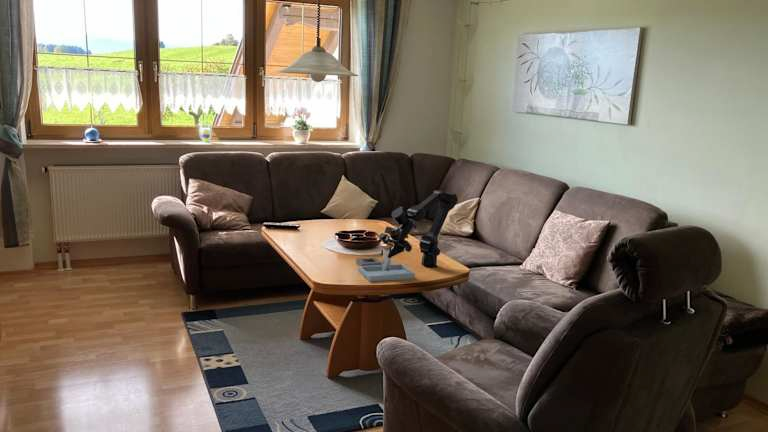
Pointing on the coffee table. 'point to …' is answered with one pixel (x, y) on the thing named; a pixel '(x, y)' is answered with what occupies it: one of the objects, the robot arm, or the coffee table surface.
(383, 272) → the tray
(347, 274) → the coffee table surface
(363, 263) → the block
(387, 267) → the pin
